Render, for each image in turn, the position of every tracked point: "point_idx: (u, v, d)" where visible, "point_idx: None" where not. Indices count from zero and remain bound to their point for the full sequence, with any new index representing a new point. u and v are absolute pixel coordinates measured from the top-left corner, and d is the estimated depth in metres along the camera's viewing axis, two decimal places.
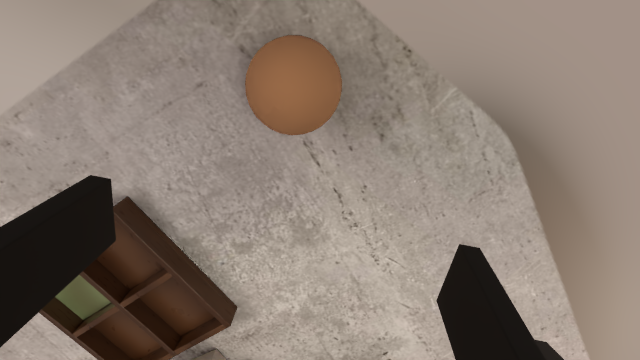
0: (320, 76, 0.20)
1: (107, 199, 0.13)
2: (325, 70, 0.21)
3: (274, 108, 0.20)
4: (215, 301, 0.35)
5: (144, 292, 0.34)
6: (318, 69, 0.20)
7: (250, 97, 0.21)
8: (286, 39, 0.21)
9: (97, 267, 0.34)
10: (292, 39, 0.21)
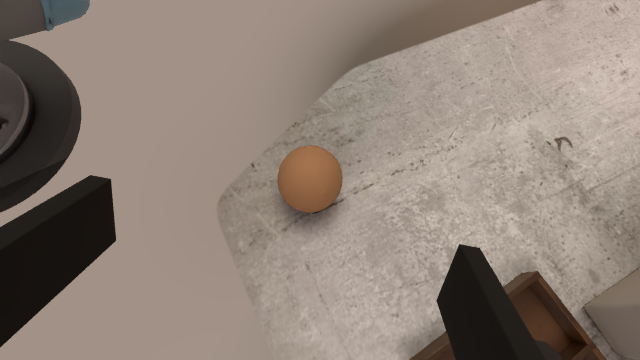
0: (302, 148, 0.33)
1: (107, 199, 0.13)
2: None
3: (319, 171, 0.31)
4: (513, 286, 0.35)
5: None
6: (298, 149, 0.33)
7: (313, 194, 0.32)
8: (279, 174, 0.33)
9: None
10: (279, 170, 0.33)
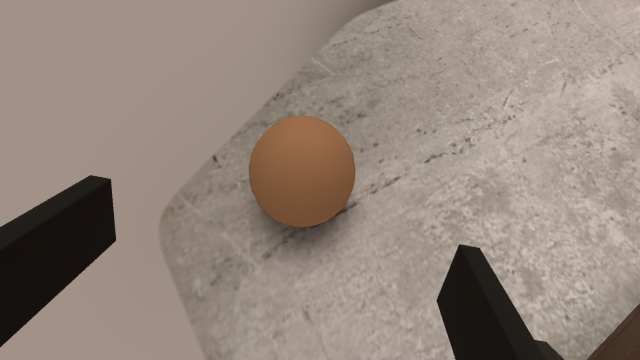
0: (285, 119, 0.19)
1: (107, 198, 0.13)
2: None
3: (317, 155, 0.17)
4: None
5: None
6: (279, 123, 0.19)
7: (308, 197, 0.18)
8: (250, 166, 0.20)
9: None
10: (250, 160, 0.20)
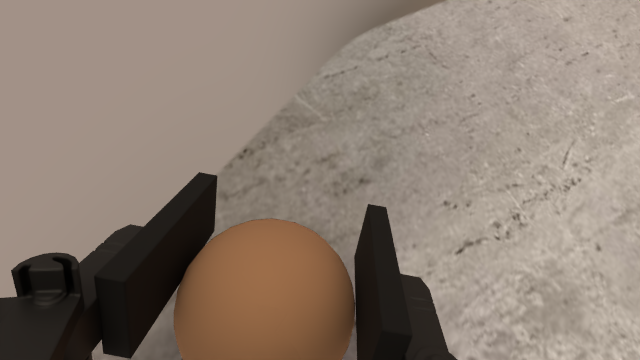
0: (233, 238, 0.11)
1: (214, 193, 0.14)
2: (228, 233, 0.12)
3: (281, 331, 0.09)
4: None
5: None
6: (221, 243, 0.11)
7: None
8: (174, 311, 0.12)
9: None
10: (176, 300, 0.12)
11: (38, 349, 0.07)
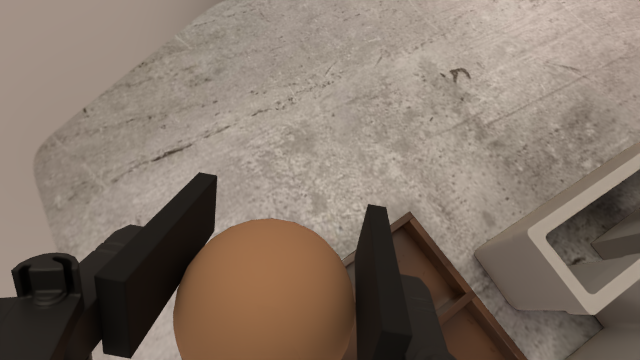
0: (232, 238, 0.11)
1: (214, 193, 0.14)
2: (228, 233, 0.12)
3: (281, 331, 0.09)
4: None
5: None
6: (221, 242, 0.11)
7: None
8: (174, 311, 0.12)
9: None
10: None
11: (38, 349, 0.07)
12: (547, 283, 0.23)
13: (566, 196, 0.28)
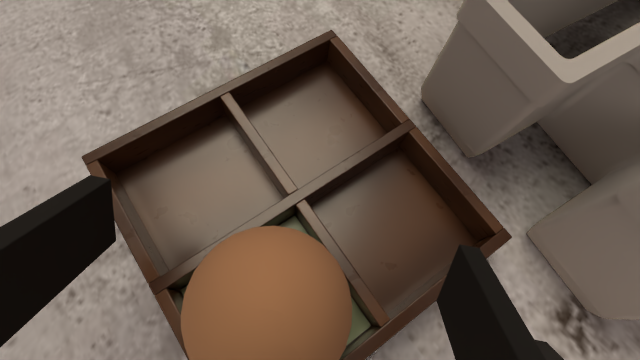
0: (236, 245, 0.12)
1: (107, 199, 0.13)
2: (232, 240, 0.12)
3: (283, 333, 0.10)
4: None
5: (261, 142, 0.19)
6: (225, 249, 0.12)
7: None
8: (181, 314, 0.12)
9: None
10: (183, 303, 0.12)
11: None
12: (505, 67, 0.16)
13: None
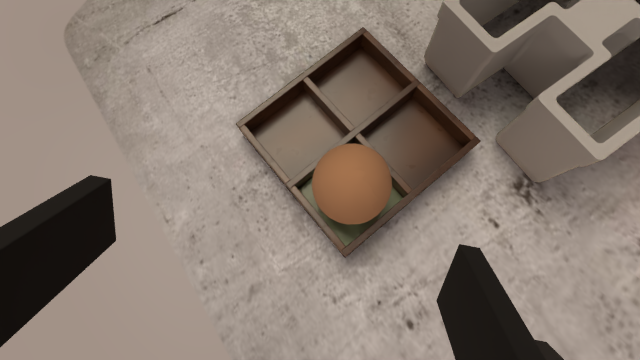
0: (336, 150, 0.26)
1: (107, 199, 0.13)
2: (333, 150, 0.27)
3: (364, 178, 0.24)
4: None
5: (330, 104, 0.33)
6: (332, 153, 0.26)
7: (359, 207, 0.25)
8: (313, 185, 0.27)
9: None
10: (313, 181, 0.27)
11: None
12: (465, 44, 0.28)
13: None
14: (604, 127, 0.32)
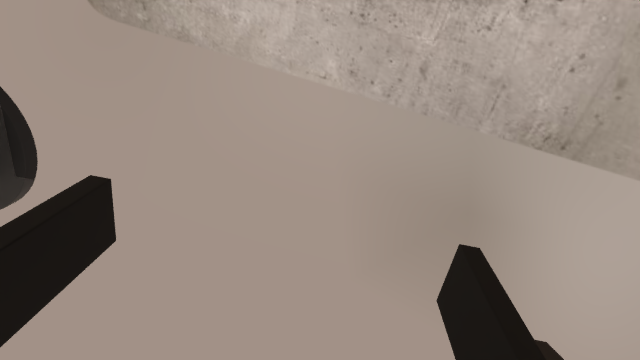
0: None
1: (107, 198, 0.13)
2: None
3: None
4: None
5: None
6: None
7: None
8: None
9: None
10: None
11: None
12: None
13: None
14: None
